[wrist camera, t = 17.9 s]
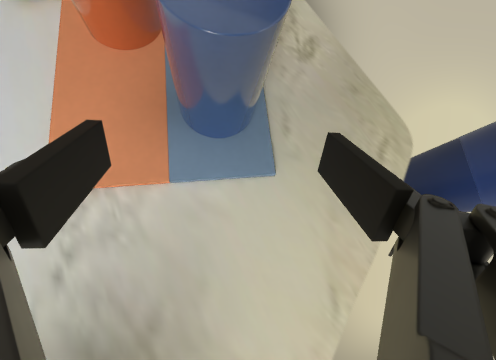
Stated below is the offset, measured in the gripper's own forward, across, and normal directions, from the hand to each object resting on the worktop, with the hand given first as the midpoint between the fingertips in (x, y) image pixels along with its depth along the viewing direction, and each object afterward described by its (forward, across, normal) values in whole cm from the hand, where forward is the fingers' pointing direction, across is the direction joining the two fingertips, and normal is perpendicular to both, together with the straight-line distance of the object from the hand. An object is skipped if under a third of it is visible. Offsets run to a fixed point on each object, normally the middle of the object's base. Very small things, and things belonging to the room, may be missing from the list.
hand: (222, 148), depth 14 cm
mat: (+12, -5, +2) cm, 13 cm away
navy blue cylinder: (+9, 0, 0) cm, 9 cm away
